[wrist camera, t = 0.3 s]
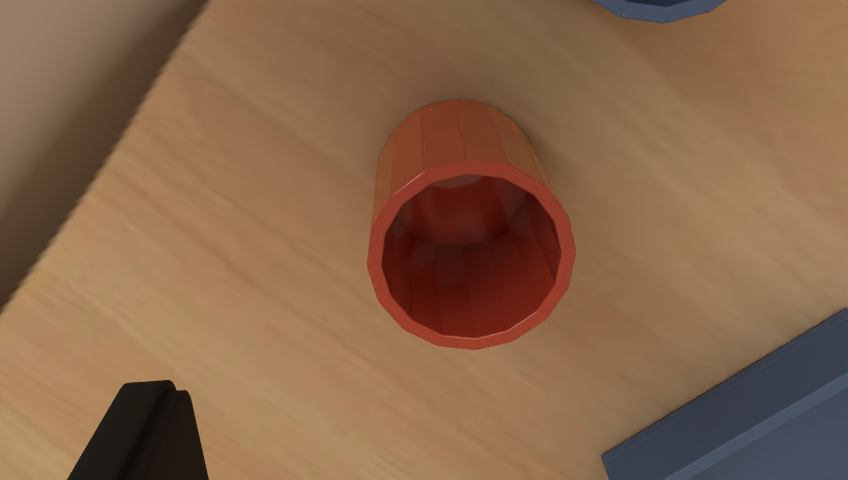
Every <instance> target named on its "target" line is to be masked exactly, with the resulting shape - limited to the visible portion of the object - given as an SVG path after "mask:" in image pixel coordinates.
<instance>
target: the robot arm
mask: <svg viewBox="0 0 848 480" xmlns="http://www.w3.org/2000/svg"><path fill="white" fill-rule="evenodd" d="M67 480H209V478H208V474H207V469H206V465H205V460H204V455H203V451H202V446H201V442H200V437H199V433H198V428H197V424H196V419H195V415H194V410H193V405H192V401H191V398H190V395H189V393H188V391H186V390H180V391H177V390H176V387H175V385H174V384H173V382H172V381H170V380H162V381H148V382H133V383H126V384H124V385H123V386H122V387H121V389H120V390H119V392H118V394H117V395H116V397H115V399H114V401H113V402H112V404H111V406H110V407H109V409H108V411H107V412H106V414H105V416H104V418H103V419H102V421H101V423H100V424H99V426H98V428H97V429H96V431H95V433H94V435H93V436H92V438H91V440H90V441H89V443H88V445H87V446H86V448H85V450H84V452H83V453H82V455H81V457H80V458H79V460H78V462H77V463H76V465H75V467H74V469H73V470H72V472H71V474H70V475H69V477H68V479H67Z"/></svg>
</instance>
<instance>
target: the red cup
mask: <svg viewBox="0 0 848 480" xmlns="http://www.w3.org/2000/svg"><path fill="white" fill-rule="evenodd" d="M575 255H576V248H575V244H574V239H573V235H572V230H571V225H570V221H569V216H568V214H567V212H566V210H565V208H564V206H563V204H562V202H561V200H560V198H559V196H558V195H557V193H556V191H555V189H554V187H553V185H552V183H551V181H550V179H549V177H548V175H547V173H546V171H545V169H544V167H543V165H542V163H541V161H540V159H539V157H538V155H537V153H536V151H535V149H534V147H533V146H532V144H531V143H530V142H529V140H528V139H527V137H526V136H525V134H524V132H523V131H522V130H521V128H520V127H519V126H518V125H517V124H516V123H515V122H514V121H513V120H512V119H511V118H510V117H509V116H507V115H506V114H504V113H503V112H501V111H500V110H498V109H496V108H494V107H492V106H490V105H487V104H484V103H481V102H477V101H471V100H460V99H457V100H446V101H441V102H436V103H433V104H430V105H428V106H425V107H423V108H421V109H419V110H417V111H415V112H414V113H412V114H411V115H410V116H408V117H407V118H406V119H405V120H403V121H402V122H401V123H400V124H399V125H398V126H397V127H396V129H395V130H394V131H393V132H392V134H391V135H390V137H389V138H388V140H387V142H386V144H385V146H384V148H383V150H382V153H381V156H380V158H379V162H378V171H377V180H376V189H375V197H374V206H373V215H372V223H371V232H370V241H369V251H368V260H367V269H368V272H369V275H370V278H371V281H372V284H373V287H374V290H375V293H376V296H377V299H378V301H379V303H380V304H381V305H382V306H383V307H384V309H385V310H386V311H387V312H388V313H389V314H390V315H391V316H392V317H393V318H394V320H395V321H396V322H397V323H398V324H399V325H400V326H401V327H402V328H403V329H404V330H406V331H408V332H410V333H412V334H414V335H416V336H418V337H420V338H422V339H424V340H426V341H428V342H430V343H432V344H434V345H438V346H442V347H452V348H462V349H472V350H476V349H477V350H478V349H482V348H486V347H490V346H494V345H498V344H503V343H507V342H511V341H513V340H516V339H517V338H519V337H520V336H522V335H523V334H525V333H526V332H528V331H529V330H531V329H532V328H534V327H535V326H537V325H538V324H540V323H541V322H543V321H544V320H545V319H546V318H547V317H548V316H549V315H550V313H551V312H552V310H553V309H554V308H555V306H556V305H557V303H558V302H559V300H560V299H561V298H562V296H563V295H564V293H565V292H566V291H567V288H568V287H569V282H570V278H571V273H572V269H573V264H574V259H575Z"/></svg>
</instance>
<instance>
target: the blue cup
mask: <svg viewBox="0 0 848 480" xmlns="http://www.w3.org/2000/svg"><path fill="white" fill-rule="evenodd" d="M589 1H590V2H592V3H594V4H596V5H598V6H600V7H601V8H603V9H605V10H607V11H609V12H611V13H612V14H614V15H616V16H618V17H621V18H624V19H632V20H640V21H647V22H655V23H663V24H664V23H670V22H674V21H678V20H681V19H685V18H688V17H692V16H696V15H699V14H703V13H707V12H710V11H711V10H714V9H715V8H716V7H718V6H719V5H720V4H722V3H723V2H725V1H726V0H589Z"/></svg>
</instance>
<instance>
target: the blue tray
mask: <svg viewBox="0 0 848 480" xmlns="http://www.w3.org/2000/svg"><path fill="white" fill-rule="evenodd" d="M601 457H602V460H603V463H604V466H605V469H606V472H607V474H608V477H609V480H848V309H847V308H846V309H844V310H842V311H841V312H839V313H837V314H836V315H834V316H832V317H831V318H829V319H827V320H826V321H824V322H822V323H821V324H819V325H817V326H816V327H814V328H812V329H811V330H809V331H808V332H806V333H804V334H803V335H801V336H799V337H798V338H796V339H794V340H793V341H791V342H789V343H788V344H786V345H784V346H783V347H781V348H779V349H778V350H776V351H774V352H773V353H771V354H769V355H768V356H766V357H764V358H763V359H761V360H759V361H758V362H756V363H754V364H753V365H751V366H749V367H748V368H746V369H744V370H743V371H741V372H739V373H738V374H736V375H735V376H733V377H731V378H730V379H728V380H726V381H725V382H723V383H721V384H720V385H718V386H716V387H715V388H713V389H711V390H710V391H708V392H706V393H705V394H703V395H701V396H700V397H698V398H696V399H695V400H693V401H691V402H690V403H688V404H686V405H685V406H683V407H681V408H680V409H678V410H676V411H675V412H673V413H671V414H670V415H668V416H666V417H665V418H663V419H661V420H660V421H658V422H657V423H655V424H653V425H652V426H650V427H648V428H647V429H645V430H643V431H642V432H640V433H638V434H637V435H635V436H633V437H632V438H630V439H628V440H627V441H625V442H623V443H622V444H620V445H618V446H617V447H615V448H613V449H612V450H610V451H608V452H607V453H605V454H603V455H602V456H601Z"/></svg>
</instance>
